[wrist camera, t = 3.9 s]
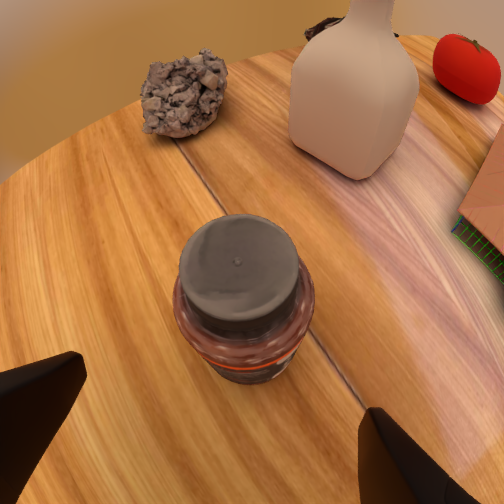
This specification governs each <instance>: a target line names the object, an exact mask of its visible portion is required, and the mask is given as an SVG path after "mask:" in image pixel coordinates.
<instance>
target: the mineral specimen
mask: <svg viewBox="0 0 504 504" xmlns="http://www.w3.org/2000/svg"><path fill="white" fill-rule="evenodd" d="M227 75H228V71H227V68H226V65H225V63H224V60H223V59H220V58H218V57H215V56H214V55H213V54H212V53H211V50H210V49H206V48H203V49H202V50H201V51H200V52H199V55H198V56H194V57H192V58H191V59H188V58H186V57H185V56H183V57H182V58H181V59H180V60H177V59H176V60H175V61H174V62H172V63H170V62H168V63H166V64H163V63H161V62H160V61H159V62H152V64H151V65H150V70H149V72H148V74H147V81H145V82H144V84H143V85H142V87H141V92H142V93H141V94H140V95H141V96H143V97H141V99H142V100H141V102H142V103H141V106H142V108H143V117H144V119H145V120H146V122H145V123H144V124H143V126H144V128H143V130H142V131H143V132H144V133H146V134H153V133H154V132H155V133H157V134H159V135H167V136H171V137H174V138H182V137H186V136H189V135H191V134H194V135H196V134H197V133H198V131H199V130H204V129H205V128H206V127H208V126H209V125H210V124H211V123H212V122H213V121H214V120H215V119H216V115H217V112H218V107H220V104H221V103H222V102H221V100H222V99H223V93H224V90H225V89H226V87H227V80H226V76H227Z"/></svg>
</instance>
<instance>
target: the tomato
mask: <svg viewBox="0 0 504 504" xmlns="http://www.w3.org/2000/svg"><path fill="white" fill-rule="evenodd" d="M433 72H434V74H435V77H436V78H437V80H438V81H439V83H440V84H442V85H443V86H444V87H445V88H446V89H448V90H449V91H451V92H453V93H454V94H456V95H457V96H459V97H461V98H463V99H465V100H467V101H469V102H472V103H475V104H486V103H488V102H490V101H491V100H492V99H493V98H494V97H495V95H496V94H497V91H498V88H499V84H500V79H501V71H500V66H499V63H498V61H497V59H496V58H495V57H494V56H493V55H492V53H490V51H488V50H487V49H485V48H484V47H482V46H480V45H479V44H478V43H477V41H476V40H474V41H471V40H469V39H468V38H466V37H463V36H460V35H456V34H449V35H446V36H444V37H443V38H441V39H440V41H439V42H438V43H437V45H436V48H435V50H434V55H433Z"/></svg>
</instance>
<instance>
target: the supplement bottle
mask: <svg viewBox="0 0 504 504" xmlns="http://www.w3.org/2000/svg"><path fill="white" fill-rule="evenodd" d="M314 304H315V294H314V286H313V281H312V279H311V276H310V274H309V272H308V269H307V267H306V266H305V264H304V262H303V261H302V260H301V258H300V257H299V256H298V253H297V250H296V247H295V245H294V243H293V242H292V240H291V238H290V237H289V236H288V234H287V233H286V232H285V231H284V230H283V229H282V228H281V227H279V226H278V225H276V224H275V223H273V222H271V221H270V220H268V219H265V218H263V217H260V216H255V215H251V214H235V215H229V216H222V217H220V218H217V219H214V220H212V221H210V222H208V223H206V224H205V225H204V226H202V227H201V228H200V229H198V230H197V231H196V232H195V233H194V234H193V235H192V236H191V237H190V239H189V240H188V242H187V243H186V245H185V247H184V249H183V251H182V254H181V257H180V263H179V274H178V276H177V279H176V282H175V286H174V291H173V310H174V315H175V319H176V322H177V324H178V327H179V329H180V331H181V333H182V334H183V336H184V337H185V339H186V340H187V341H188V342H189V344H190V345H191V346H192V347H193V348H194V349H195V350H196V351H197V352H198V353H199V354H200V355H201V356H202V357H203V359H205V360H206V361H207V362H208V363H209V364H210V365H211V366H212V367H213V368H214V369H215V370H216V371H217V372H218V373H219V374H220V375H221V376H223V377H224V378H226V379H228V380H230V381H233V382H235V383H239V384H245V385H255V384H261V383H264V382H267V381H269V380H271V379H273V378H275V377H276V376H278V375H279V374H280V373H281V372H282V371H283V370H284V369H285V368H286V367H287V366H288V364H289V363H290V361H291V360H292V358H293V356H294V354H295V352H296V350H297V348H298V347H299V345H300V343H301V341H302V339H303V338H304V336H305V334H306V331H307V329H308V327H309V325H310V322H311V319H312V316H313V312H314Z"/></svg>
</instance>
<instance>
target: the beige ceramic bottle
mask: <svg viewBox="0 0 504 504" xmlns="http://www.w3.org/2000/svg"><path fill="white" fill-rule="evenodd" d="M393 5H394V0H351V2H350V9H349V11H348V13H347V15H346V17H345V18H344V19H343V20H342V21H341V22H340V23H338V24H336V25H334V26H331V27H329V28H327V29H325V30H324V31H322V32H321V33H319V34H317V35H316V36H315V37H313V38H312V39H311V40H310V41H309V42H308V43H307V44H306V46H305V47H304V48H303V50H302V52H301V53H300V55H299V56H298V58H297V59H296V61H295V62H294V65H293V67H292V73H291V90H290V107H289V122H288V133H289V137H290V138H291V140H292V141H293V142H294V144H295V145H296V146H298V147H299V148H301V149H303V150H305V151H306V152H308V153H310V154H311V155H313V156H315V157H316V158H318V159H320V160H321V161H323V162H325V163H326V164H328V165H330V166H331V167H333V168H334V169H336V170H338V171H339V172H341V173H342V174H344V175H345V176H347V177H349V178H352V179H355V180H360V179H363V178H367V177H370V176H371V175H372V174H373V173H374V172H375V171H376V170H377V169H378V168H379V167H380V165H381V164H382V163H383V162H384V161H385V160H386V159H387V158H388V157H389V156H390V155H391V154H392V152H393V151H394V150H395V149H396V148H397V147H398V146H399V144H400V142H401V139H402V137H403V134H404V131H405V129H406V126H407V123H408V121H409V118H410V115H411V112H412V110H413V107H414V104H415V101H416V98H417V95H418V92H419V78H418V74H417V70H416V68H415V65H414V63H413V62H412V60H411V58H410V57H409V55H408V53H407V52H406V50H405V49H404V47H403V46H402V45H401V44H400V42H399V41H398V40H397V39H396V38H395V35H394V33H393V31H392V25H391V16H392V11H393Z"/></svg>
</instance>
